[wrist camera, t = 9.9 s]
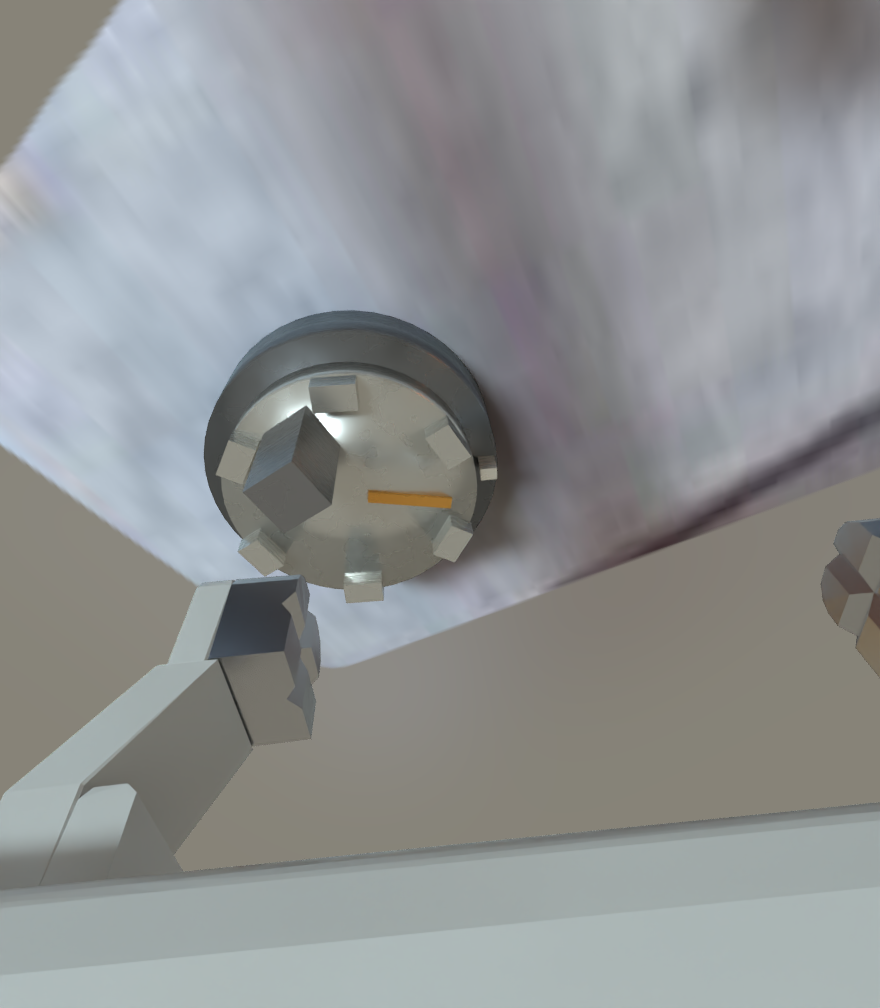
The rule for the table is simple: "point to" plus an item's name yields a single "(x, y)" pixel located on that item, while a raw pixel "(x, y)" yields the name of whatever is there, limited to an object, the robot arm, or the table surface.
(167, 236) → the table surface
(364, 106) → the table surface
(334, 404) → the round clock
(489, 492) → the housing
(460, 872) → the robot arm
